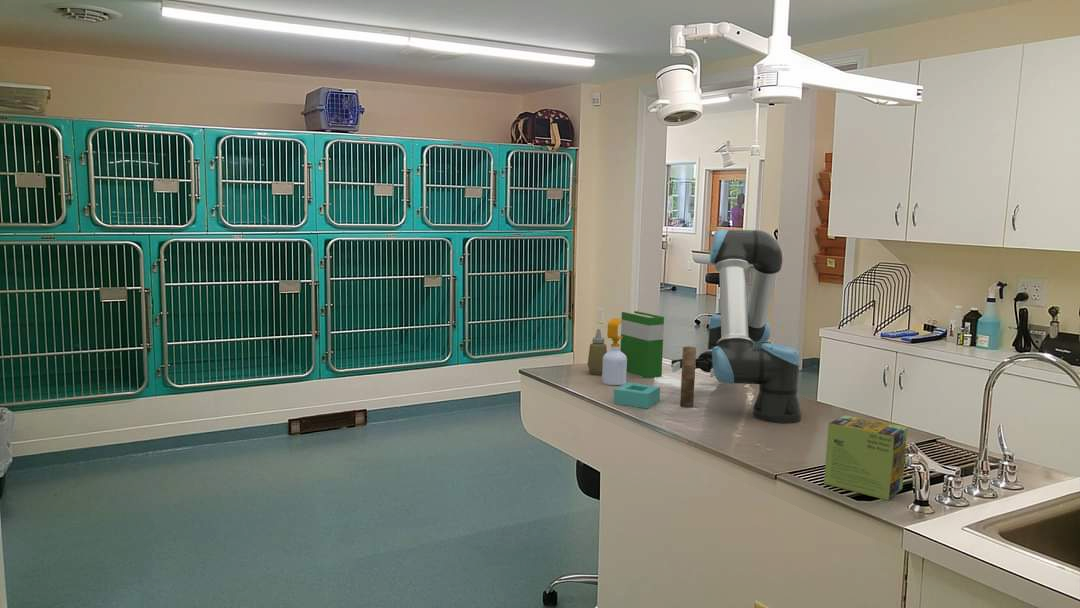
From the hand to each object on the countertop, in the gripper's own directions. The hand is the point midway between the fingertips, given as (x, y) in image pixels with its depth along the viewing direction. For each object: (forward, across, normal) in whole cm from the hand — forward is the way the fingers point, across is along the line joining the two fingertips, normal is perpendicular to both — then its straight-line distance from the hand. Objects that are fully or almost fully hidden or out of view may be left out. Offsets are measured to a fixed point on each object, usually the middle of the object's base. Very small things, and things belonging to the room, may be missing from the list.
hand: (692, 371), depth 256 cm
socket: (+11, +16, -11) cm, 22 cm away
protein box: (+54, -61, -11) cm, 82 cm away
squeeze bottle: (-22, +46, -11) cm, 52 cm away
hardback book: (-33, +32, -11) cm, 47 cm away
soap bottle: (-11, +34, -11) cm, 37 cm away
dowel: (+6, 0, -11) cm, 12 cm away
